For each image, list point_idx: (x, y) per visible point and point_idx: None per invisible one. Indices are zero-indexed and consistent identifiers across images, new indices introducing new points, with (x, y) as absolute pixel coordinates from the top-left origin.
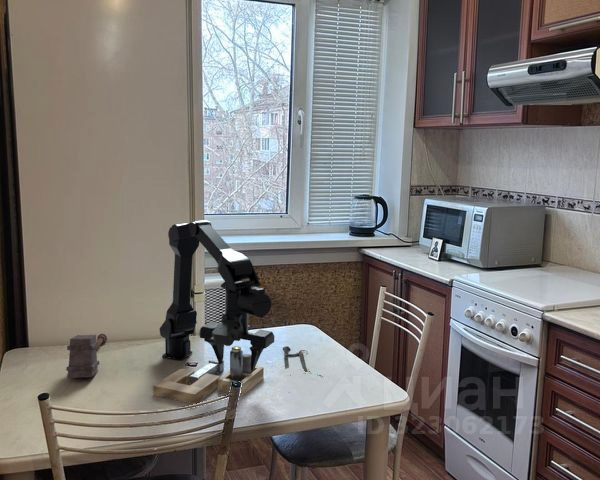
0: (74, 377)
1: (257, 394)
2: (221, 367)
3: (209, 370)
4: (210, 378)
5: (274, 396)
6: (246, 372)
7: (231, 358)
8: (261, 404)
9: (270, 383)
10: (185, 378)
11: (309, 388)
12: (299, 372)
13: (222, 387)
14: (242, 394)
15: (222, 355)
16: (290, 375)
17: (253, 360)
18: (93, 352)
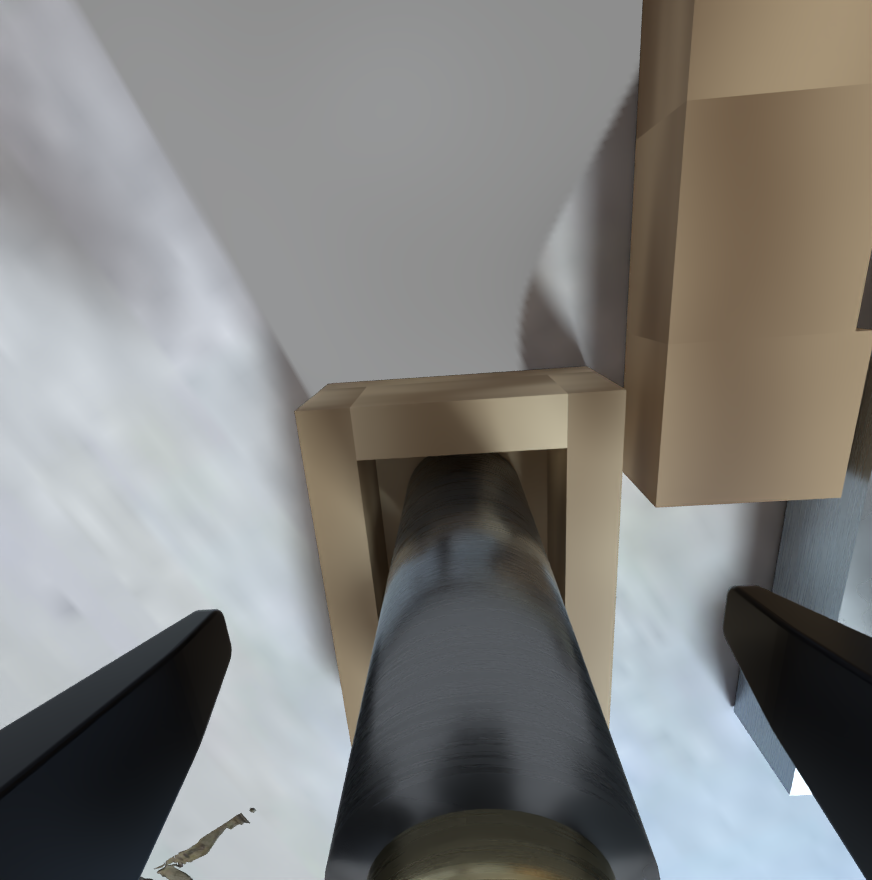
0: None
1: (236, 467)
2: (761, 713)
3: (839, 584)
4: (735, 407)
5: (102, 499)
6: None
7: (526, 662)
8: (79, 315)
9: (278, 669)
10: None
11: (2, 713)
12: (223, 869)
13: (543, 377)
14: (326, 388)
15: (807, 747)
16: (242, 817)
17: (11, 734)
18: None
